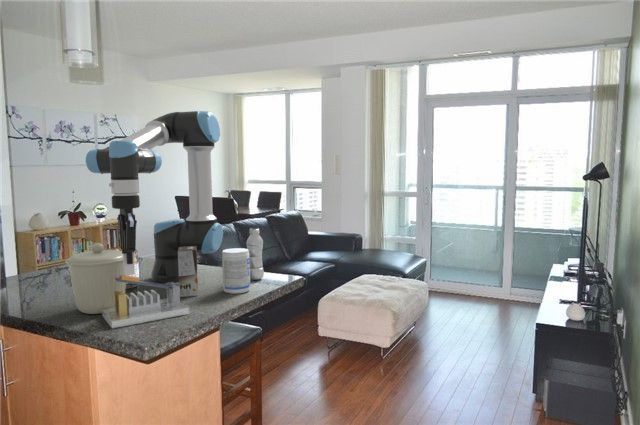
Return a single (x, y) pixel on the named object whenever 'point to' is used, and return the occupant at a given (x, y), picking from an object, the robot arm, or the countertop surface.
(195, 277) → the coffee box
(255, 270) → the plastic bottle
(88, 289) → the canister
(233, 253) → the supplement tub
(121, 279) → the strap
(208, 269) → the countertop surface
